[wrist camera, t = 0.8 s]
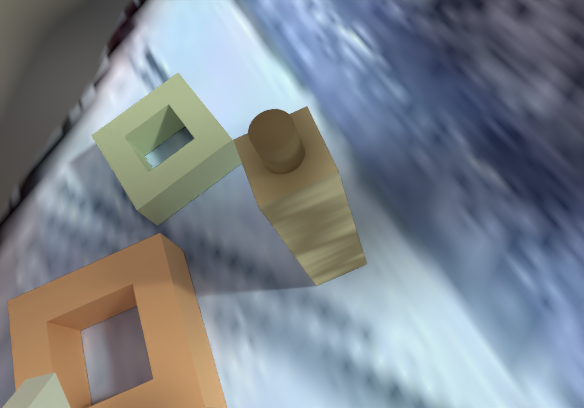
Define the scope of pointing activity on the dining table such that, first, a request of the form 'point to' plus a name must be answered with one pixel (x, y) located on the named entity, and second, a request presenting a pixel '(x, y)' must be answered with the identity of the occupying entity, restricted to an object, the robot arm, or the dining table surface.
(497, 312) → the dining table surface
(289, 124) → the peg block
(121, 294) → the orange square frame
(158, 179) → the green square ring
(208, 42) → the dining table surface
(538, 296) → the dining table surface
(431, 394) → the dining table surface
